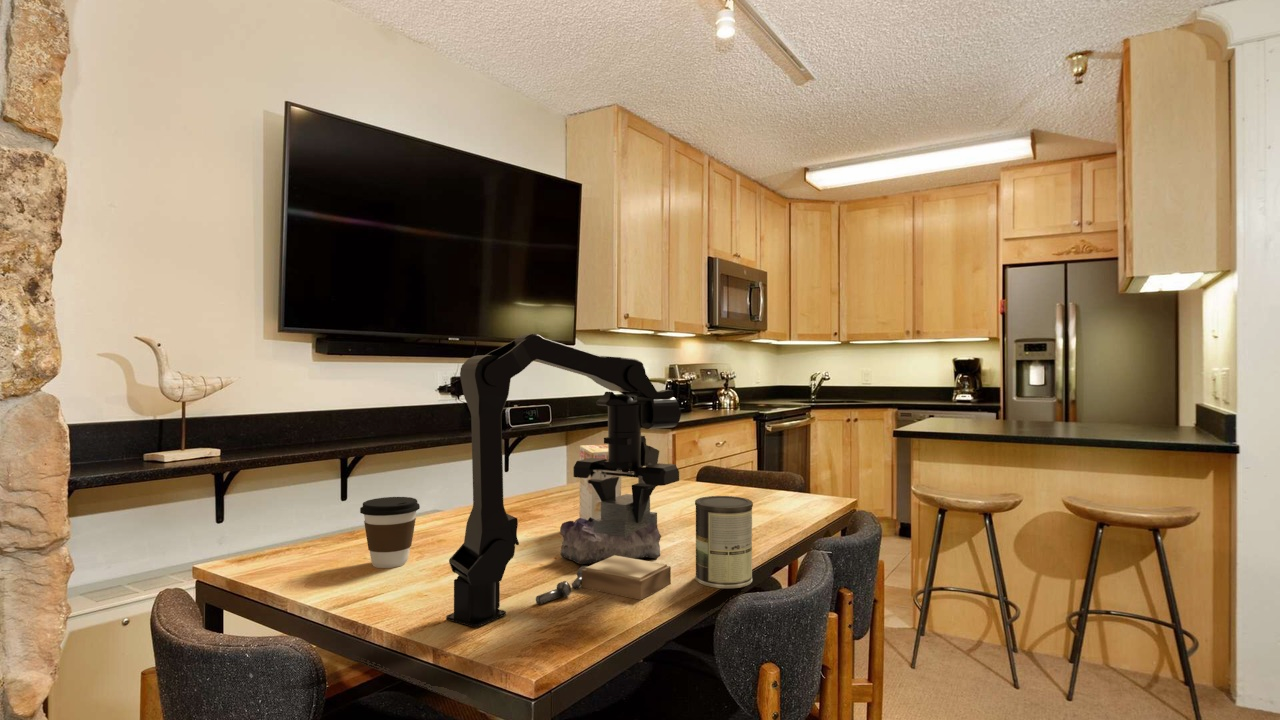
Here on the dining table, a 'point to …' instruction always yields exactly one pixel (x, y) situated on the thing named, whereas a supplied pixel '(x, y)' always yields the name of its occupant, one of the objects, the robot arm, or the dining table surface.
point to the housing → (622, 517)
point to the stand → (626, 577)
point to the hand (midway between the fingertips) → (625, 520)
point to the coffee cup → (389, 529)
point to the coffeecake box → (588, 495)
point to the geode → (606, 543)
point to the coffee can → (724, 541)
